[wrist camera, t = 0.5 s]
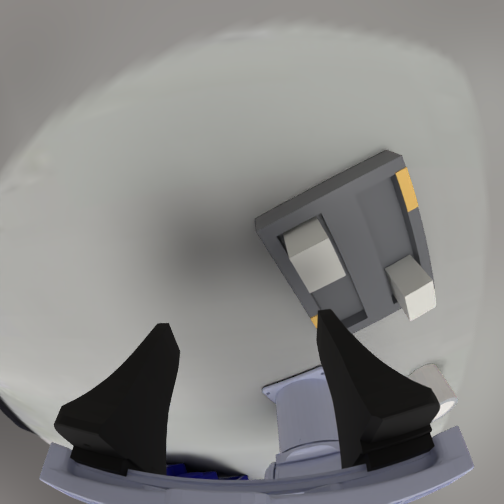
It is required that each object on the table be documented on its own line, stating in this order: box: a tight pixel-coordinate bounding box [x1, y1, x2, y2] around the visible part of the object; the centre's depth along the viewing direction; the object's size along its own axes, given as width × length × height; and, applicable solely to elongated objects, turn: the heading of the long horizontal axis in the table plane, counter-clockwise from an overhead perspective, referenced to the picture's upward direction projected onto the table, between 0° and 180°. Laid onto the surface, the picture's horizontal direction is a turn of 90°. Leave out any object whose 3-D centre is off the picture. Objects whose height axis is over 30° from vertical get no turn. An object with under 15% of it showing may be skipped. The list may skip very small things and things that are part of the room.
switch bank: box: [255, 150, 435, 334], centre depth 21 cm, size 13×11×2 cm
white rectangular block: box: [385, 255, 436, 321], centre depth 20 cm, size 3×3×4 cm
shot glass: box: [407, 364, 458, 422], centre depth 29 cm, size 7×7×7 cm
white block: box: [283, 216, 346, 293], centre depth 19 cm, size 3×3×4 cm
